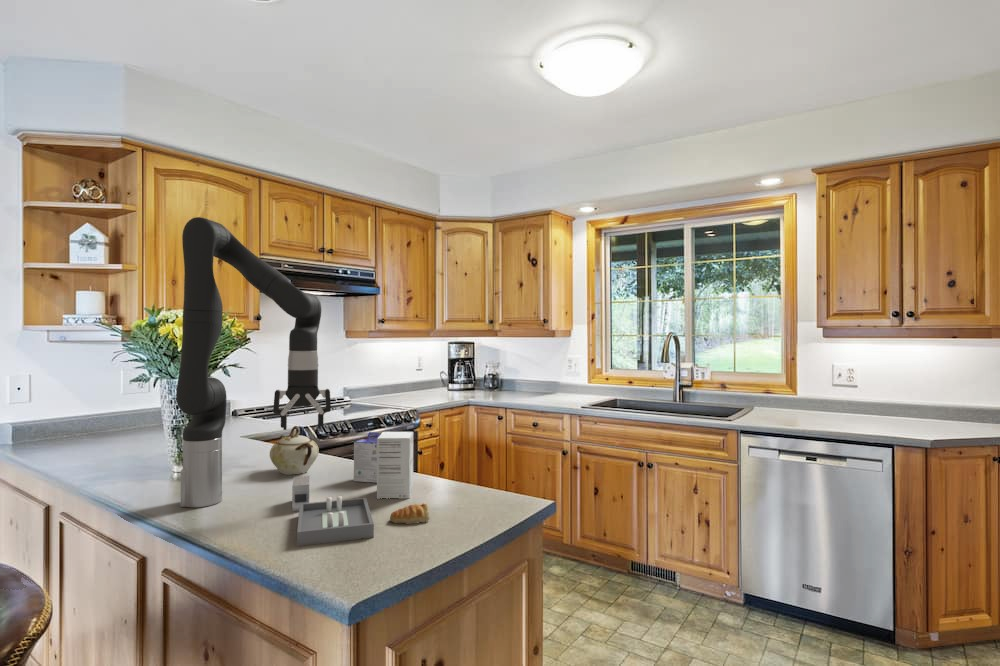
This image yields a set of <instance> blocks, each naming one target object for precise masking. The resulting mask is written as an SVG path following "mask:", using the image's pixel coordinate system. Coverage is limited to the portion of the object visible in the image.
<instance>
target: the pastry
mask: <svg viewBox="0 0 1000 666" xmlns="http://www.w3.org/2000/svg"><path fill="white" fill-rule="evenodd" d="M428 508H429V506H428V505H427V503H425V502H424V503H422V504H409V505H408V506H404V507H402V508H398V509H397V510H395V511H393V512H391V513H390V517H389V521H391V522H392V523H393V524H396V523H408V524H407V525H411V524H410V523H414V524H417V523H416V522H425V521H428V520H429V521H430V511H429V509H428ZM429 521H428V522H429ZM425 523H426V522H425Z"/></svg>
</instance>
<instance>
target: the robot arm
mask: <svg viewBox="0 0 1000 666" xmlns="http://www.w3.org/2000/svg"><path fill="white" fill-rule="evenodd" d="M181 237H182V238H181V239H182V254H183V268H184V279H183V281H184V282H183V306H182V338H181V354H180V355H181V356H180V365H179V371H178V372H179V373H178V378H177V379H178V380H177V385H176V392H175V399H176V400H175V401H176V404H177V406H178V408H179V409H180V411H181V412H183V413H184V414H185V415H188V416H192V417H191V420H190V421H189V423H188V424H187V425H186V426H185V427H184V429H183V430H182V468H181V470H180V508H185V507H186V508H202V507H209V506H214V505H216V504H218V503H220V502H221V501H223V430H224V428H225V424H226V419H227V391H226V387H225V385H224V384H223V382H222V381H221V380H220V379H218V378H216V377H212V376H211V377H209V365H210V359H211V357H212V353H213V351H214V349H215V347H216V345H217V343H218V341H219V339H220V336H221V333H222V328H223V316H224V315H223V314H224V313H223V310H224V309H223V301H222V298H221V297H222V296H221V293H220V292H219V288H218V285H217V283H216V280H215V275H214V258H216V259H219V260H221V261H223V262H224V263H227V264H229V265H230V266H232V267H233V268H234V269H235V270H237V271H238V272H239V273H240V274H241V275H242V276H243V277H244V278H245V280H246V281H247V282H248V283H249V284H251V286H253V287H254V288H255V289H256V290H258V291H259V292H260V293H261V294H264V295H265V296H266V297H268V298H270V299H271V300H272V301H273V302H274V303H275V304H276V305H277V306H278V307H279V308H281V310H282V311H283V312H285V313H286V314H287V315H289V316H290V317H292V318H294V319H295V321H294V327H293V328H292V329H291V330H290V332H289V337H288V339H289V341H288V343H289V345H288V356H287V388H286V390H280V389H276V390H275V391H274V397H273V408H272V409H273V411H272V412H273V414H276V415H279V416H280V428H281V429H283V431H286V430H287V428H288V427H287V424H288V420H287V419H288V418H287V417H288V415H287V413H288V412H289V411H290V410H291V408H292V407H293V406H294V407H302V406H303V407H310V406H312V407H313V408H314V409H315V410H316V412H318V414H317V418H318V419H317V429H318V430H319V429H321V427H323V426H324V415H325V414H326V413H330V412H331V411H332V410H331V409H332V405H331V390H330V389H329V388H325V389H319V356H318V331H319V329H320V323H321V318H322V304H321V300H320V299H319V297H318V296H316V295H315V294H313V293H309V292H304V291H303V290H300V289H299V288H298V287H297V286H295V285H293V284H292V281H291V280H290V279H289V278H288V277H287V276H286V275H285V274H283V273H281V272H280V271H278V269H276V268H274V267H273V266H272V265H270V264H269V263H267V262H265V261H264V260H263V259H262V258H260V257H258V256H257V255H256V254H255V253H253V252H252V251H250V249H248V248H247V247H246V246H245V245H244V244H243V243H242V242H241V241H240V240H239V239H238V238H237V237H235V235H234V234H232V232H230V230H229V229H228V228H227V227H225V225H223V224H222V223H220V222H216V221H214V220H211V219H208V218H205V217H201V216H198V217H197V216H196V217H191V219H189V220H188V221H187V222H186V223H185V225H184V228H183V230H182V234H181ZM320 395H321V396H322V398H323V399H324V400H325V406H324V407H322V405H320V404H319V402H318V401H317V400H316V399H317V398H318V397H319V396H320ZM284 396H286V397H287V399H288V400H289V401H288V402H287V403H286V405H285V406H284V407H283V409H281V408H280V400H282V399H283V398H284Z"/></svg>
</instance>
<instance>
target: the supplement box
mask: <svg viewBox="0 0 1000 666" xmlns="http://www.w3.org/2000/svg"><path fill="white" fill-rule="evenodd" d="M413 490H414V431H382V432H381V434H379V437H378V438H377V483H376V499H378V500H381V499H382V498H386V499H385V500H387V499H388V498H389V499H390V498H399V499H411V495H412V493H413ZM380 498H381V499H380ZM389 499H388V500H389ZM382 500H383V499H382Z"/></svg>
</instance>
